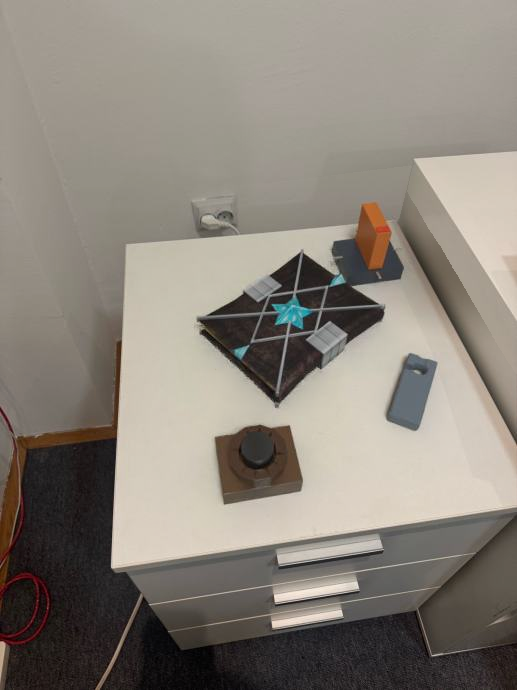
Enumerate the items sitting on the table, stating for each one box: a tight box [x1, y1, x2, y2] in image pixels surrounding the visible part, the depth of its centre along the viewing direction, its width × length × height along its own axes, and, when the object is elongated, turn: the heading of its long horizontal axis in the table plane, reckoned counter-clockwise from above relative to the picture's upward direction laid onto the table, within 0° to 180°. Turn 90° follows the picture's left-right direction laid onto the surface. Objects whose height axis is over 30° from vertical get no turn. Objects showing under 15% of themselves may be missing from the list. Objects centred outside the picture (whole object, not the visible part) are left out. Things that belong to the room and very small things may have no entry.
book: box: [195, 248, 386, 409], centre depth 69 cm, size 22×17×5 cm
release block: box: [214, 424, 304, 505], centre depth 56 cm, size 9×7×5 cm
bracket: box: [386, 352, 438, 432], centre depth 63 cm, size 4×10×2 cm, turn 156°
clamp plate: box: [331, 229, 405, 287], centre depth 78 cm, size 11×11×3 cm
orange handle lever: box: [354, 201, 393, 270], centre depth 74 cm, size 7×2×7 cm, turn 10°
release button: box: [241, 431, 274, 468], centre depth 53 cm, size 4×4×2 cm
